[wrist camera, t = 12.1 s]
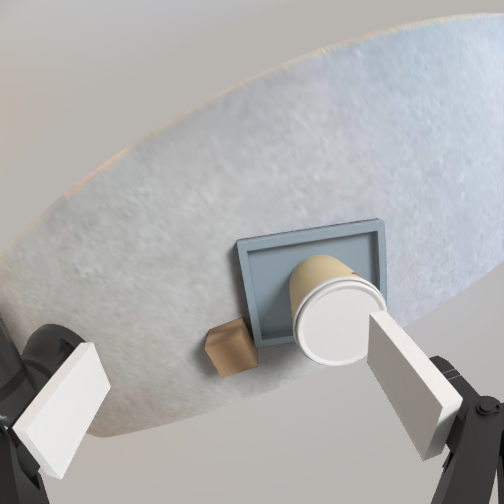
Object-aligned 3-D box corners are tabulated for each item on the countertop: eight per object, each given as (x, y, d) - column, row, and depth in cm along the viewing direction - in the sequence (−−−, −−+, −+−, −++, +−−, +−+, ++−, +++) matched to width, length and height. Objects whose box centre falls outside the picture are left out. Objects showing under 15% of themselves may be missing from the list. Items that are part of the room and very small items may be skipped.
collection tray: (255, 338, 42) (255, 347, 40) (237, 239, 38) (236, 244, 36) (380, 315, 41) (386, 323, 39) (377, 218, 38) (384, 221, 35)
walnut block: (225, 357, 43) (222, 377, 38) (209, 329, 42) (204, 348, 37) (257, 345, 42) (257, 366, 37) (242, 316, 41) (241, 335, 36)
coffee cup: (358, 306, 40) (392, 353, 28) (290, 324, 40) (303, 379, 29) (347, 239, 37) (385, 268, 26) (274, 258, 38) (284, 296, 26)
